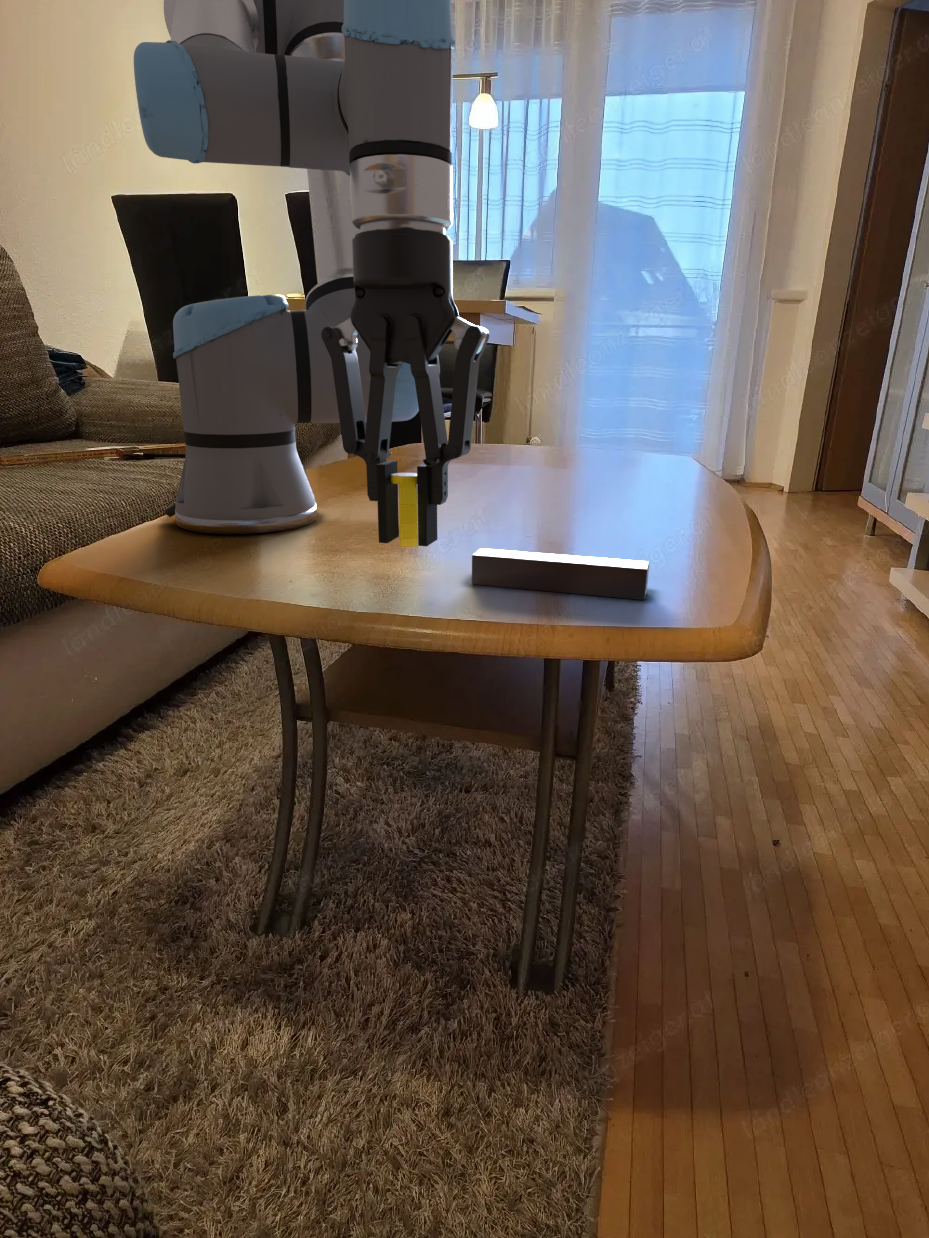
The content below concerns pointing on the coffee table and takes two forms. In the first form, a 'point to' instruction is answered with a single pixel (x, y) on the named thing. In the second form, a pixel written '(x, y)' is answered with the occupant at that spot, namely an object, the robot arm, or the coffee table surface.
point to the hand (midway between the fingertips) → (408, 540)
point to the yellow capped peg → (407, 507)
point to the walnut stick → (561, 573)
